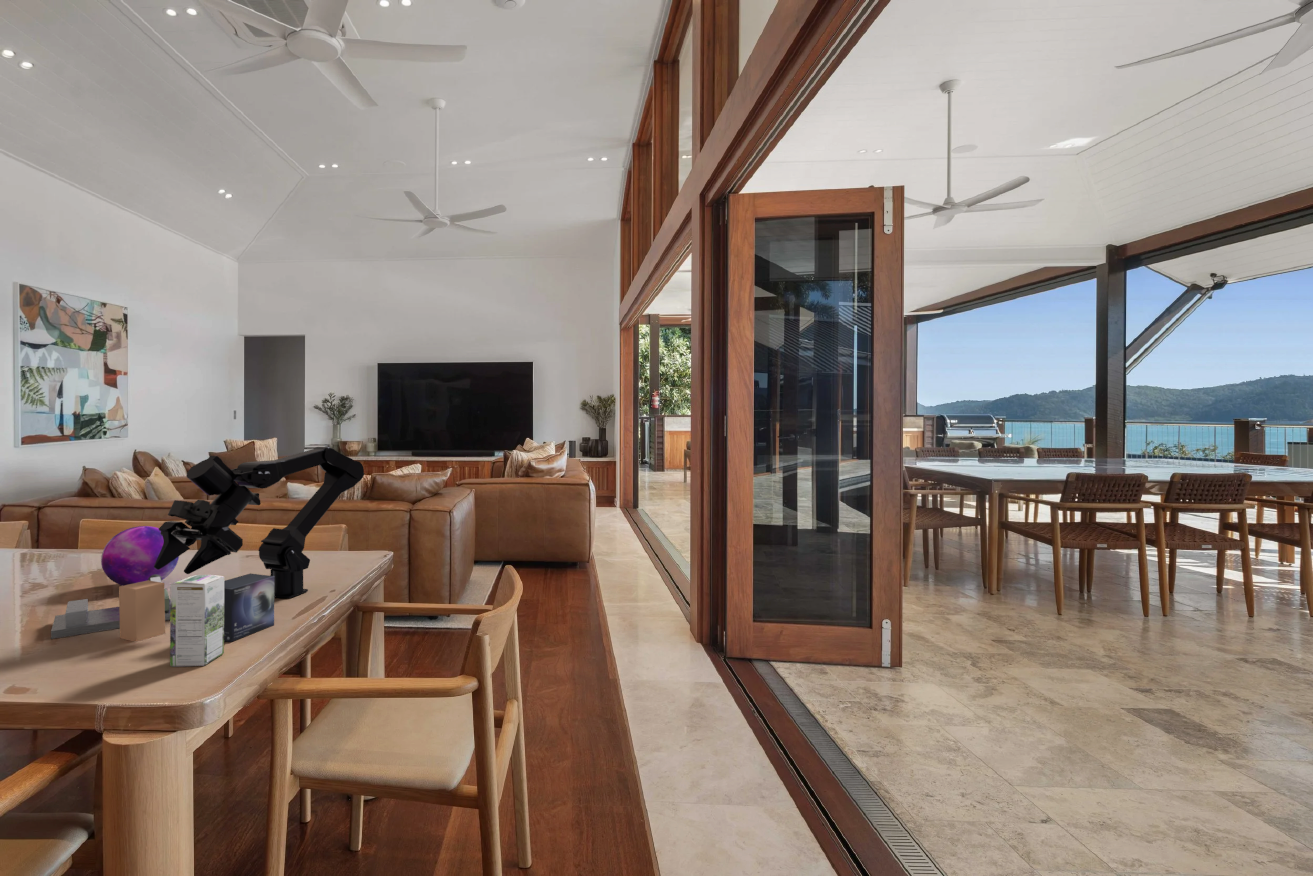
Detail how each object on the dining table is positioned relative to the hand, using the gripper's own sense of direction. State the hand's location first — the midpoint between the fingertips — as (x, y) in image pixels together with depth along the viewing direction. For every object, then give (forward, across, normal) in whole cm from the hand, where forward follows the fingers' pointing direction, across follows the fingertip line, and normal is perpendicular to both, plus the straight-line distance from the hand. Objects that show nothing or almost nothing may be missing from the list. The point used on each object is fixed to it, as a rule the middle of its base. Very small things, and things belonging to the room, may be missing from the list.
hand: (170, 570), depth 127 cm
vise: (+8, -14, +8) cm, 18 cm away
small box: (+6, +15, +11) cm, 20 cm away
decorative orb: (-4, -39, +20) cm, 44 cm away
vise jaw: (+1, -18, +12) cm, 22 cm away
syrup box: (+15, +22, +2) cm, 27 cm away
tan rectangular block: (+12, 0, +5) cm, 13 cm away
